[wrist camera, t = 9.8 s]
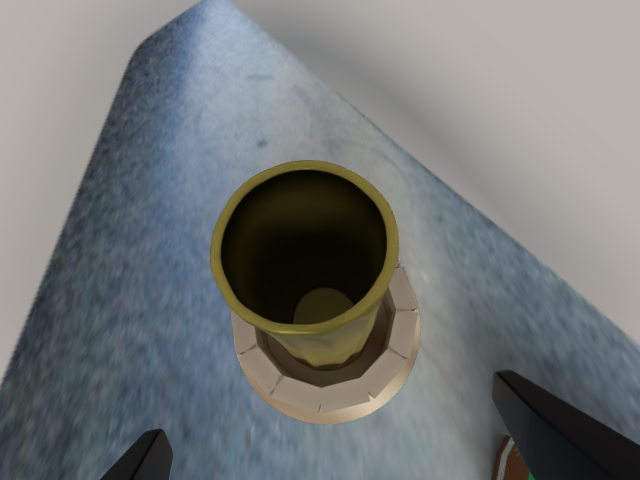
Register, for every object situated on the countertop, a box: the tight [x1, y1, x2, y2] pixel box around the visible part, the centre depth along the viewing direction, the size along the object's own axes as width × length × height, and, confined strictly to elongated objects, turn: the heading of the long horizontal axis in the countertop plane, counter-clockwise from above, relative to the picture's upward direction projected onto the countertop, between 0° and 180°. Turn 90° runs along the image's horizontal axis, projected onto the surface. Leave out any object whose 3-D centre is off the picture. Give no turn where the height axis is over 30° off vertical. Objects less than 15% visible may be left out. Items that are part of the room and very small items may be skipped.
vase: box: [210, 160, 399, 371], centre depth 16 cm, size 6×6×14 cm
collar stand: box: [231, 260, 420, 425], centre depth 21 cm, size 12×12×4 cm
